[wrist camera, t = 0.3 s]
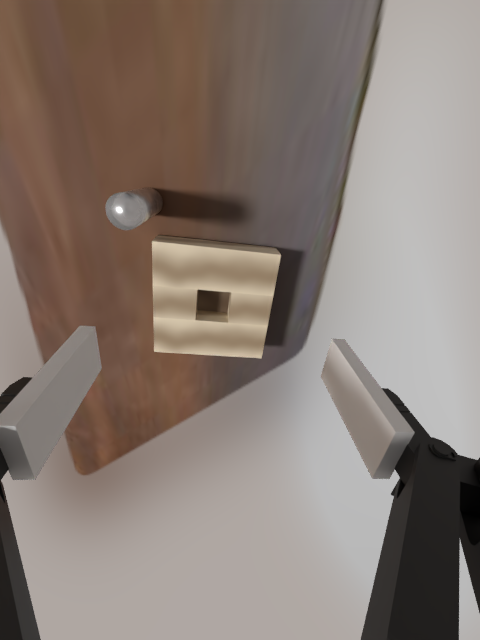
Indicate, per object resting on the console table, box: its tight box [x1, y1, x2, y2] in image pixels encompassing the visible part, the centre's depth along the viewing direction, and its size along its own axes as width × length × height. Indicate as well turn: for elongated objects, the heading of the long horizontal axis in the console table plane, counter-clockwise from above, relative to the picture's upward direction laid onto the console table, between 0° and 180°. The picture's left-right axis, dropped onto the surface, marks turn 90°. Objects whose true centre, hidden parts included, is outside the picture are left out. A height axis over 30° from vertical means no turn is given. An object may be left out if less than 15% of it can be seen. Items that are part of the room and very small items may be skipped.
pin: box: [106, 188, 163, 230], centre depth 31 cm, size 3×3×11 cm
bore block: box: [152, 235, 281, 358], centre depth 40 cm, size 16×16×4 cm
